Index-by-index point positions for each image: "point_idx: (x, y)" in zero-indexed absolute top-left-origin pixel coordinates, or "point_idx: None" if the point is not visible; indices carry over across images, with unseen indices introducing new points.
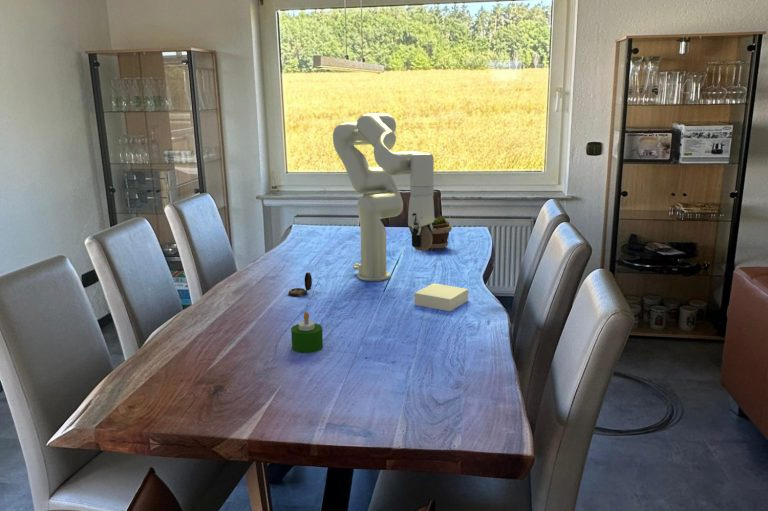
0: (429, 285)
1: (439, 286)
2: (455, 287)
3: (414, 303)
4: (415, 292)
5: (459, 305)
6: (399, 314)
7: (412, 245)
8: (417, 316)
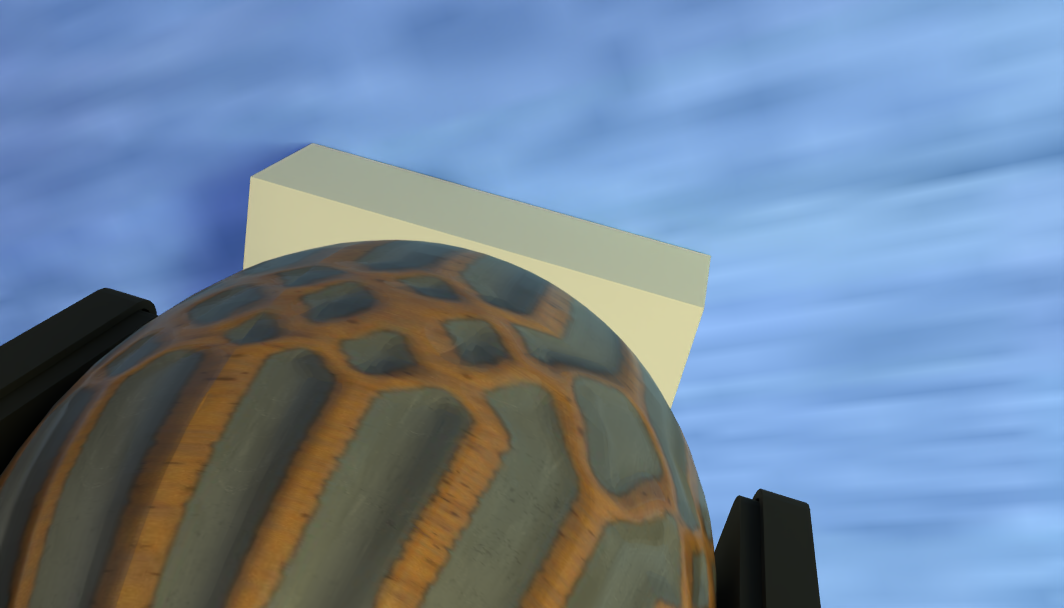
0: (589, 279)
1: None
2: None
3: (305, 147)
4: (268, 184)
5: None
6: (14, 82)
7: (100, 308)
8: (53, 246)
